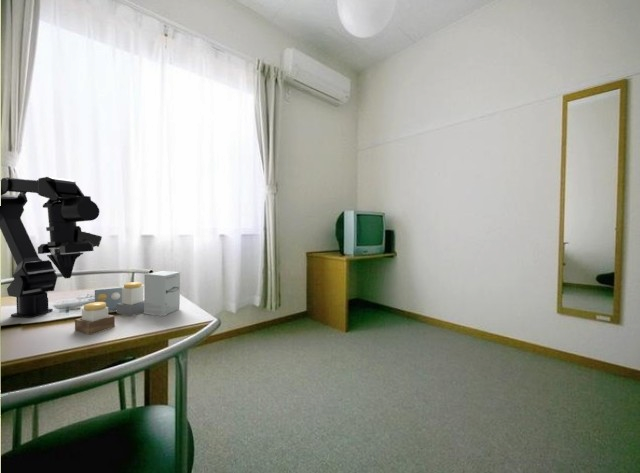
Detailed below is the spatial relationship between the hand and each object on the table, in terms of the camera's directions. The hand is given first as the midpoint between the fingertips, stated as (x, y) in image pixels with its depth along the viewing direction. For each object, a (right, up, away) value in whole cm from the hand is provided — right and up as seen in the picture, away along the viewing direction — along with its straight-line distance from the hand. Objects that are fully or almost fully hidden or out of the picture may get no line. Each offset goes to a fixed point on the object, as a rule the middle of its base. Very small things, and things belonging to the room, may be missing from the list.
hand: (67, 278), depth 80 cm
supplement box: (+21, -13, +11) cm, 27 cm away
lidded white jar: (+11, -12, -4) cm, 17 cm away
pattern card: (+4, -12, +10) cm, 16 cm away
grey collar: (+12, -12, +10) cm, 20 cm away
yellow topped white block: (+12, -9, +9) cm, 18 cm away
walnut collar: (+11, -13, -4) cm, 18 cm away
